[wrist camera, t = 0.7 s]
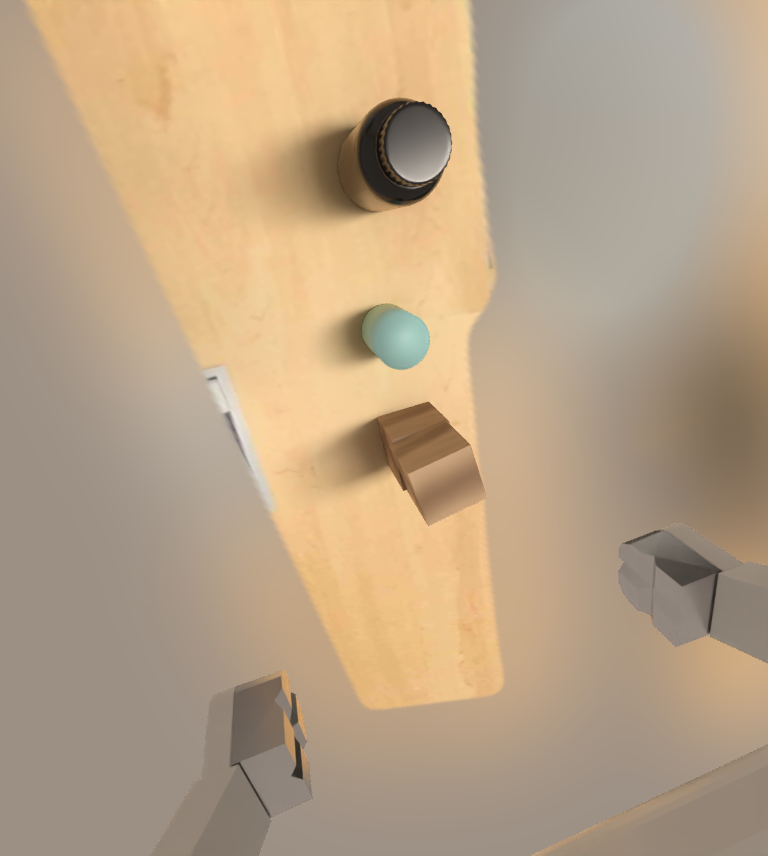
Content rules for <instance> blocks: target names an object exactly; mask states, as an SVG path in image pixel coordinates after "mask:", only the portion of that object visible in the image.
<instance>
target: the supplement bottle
mask: <svg viewBox="0 0 768 856" xmlns="http://www.w3.org/2000/svg"><path fill="white" fill-rule="evenodd" d="M451 145H452V141H451V133H450V128H449V126H448V125H447V122H446V119H445V118H443V116H442V113H440V112H438V110H437V109H436V108H435V107H432V106H431V105H430V104H426V103H425V102H418V101H414V100H412V99H408V98H393V99H389V100H386V101H384V102H382V103H380V104H378V105H377V106H375V107H374V108H373V109H372V110H371V111H370V112H369V113H368V114H367V115H366V116H365V117H364V118H363V119H362V120H361V122H360V123H359V124H358V125H357V126H356V127H355V128H354V129H353V130H352V132H351V133H350V134H349V135H348V137H347V138H346V139H345V141H344V143H343V145H342V147H341V150H340V153H339V159H338V172H339V178H340V181H341V184H342V187H343V189H344V191H345V192H346V194H347V195H348V197H349V198H350V199H351V200H352V201H353V202H354V203H355V204H357V205H358V206H360V207H361V208H364V209H366V210H369V211H376V212H378V211H387V210H391V209H396V208H400V207H405V206H409V205H413V204H415V203H417V202H419V201H421V200H423V199H424V198H426V197H427V196H428V195H429V194H430V193H431V192H432V191H433V190H434V189H435V187H436V186H437V184H438V183H439V181H440V179H441V177H442V174H443V171H444V168H445V167H446V166H447V163H448V161H449V159H450V153H451V151H452V150H451Z"/></svg>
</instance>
